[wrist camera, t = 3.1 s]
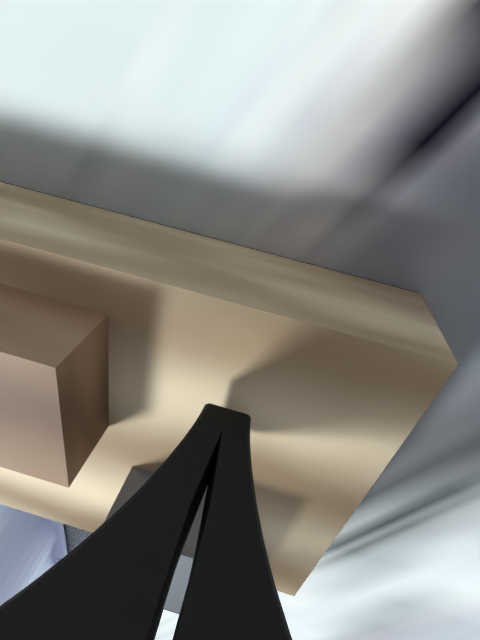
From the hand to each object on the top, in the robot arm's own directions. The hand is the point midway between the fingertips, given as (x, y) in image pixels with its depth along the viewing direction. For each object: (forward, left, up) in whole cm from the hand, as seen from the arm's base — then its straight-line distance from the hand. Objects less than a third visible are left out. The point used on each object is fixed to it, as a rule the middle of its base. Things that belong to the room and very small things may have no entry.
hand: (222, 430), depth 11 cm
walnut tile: (0, +7, -1) cm, 7 cm away
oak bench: (-3, +4, -5) cm, 7 cm away
